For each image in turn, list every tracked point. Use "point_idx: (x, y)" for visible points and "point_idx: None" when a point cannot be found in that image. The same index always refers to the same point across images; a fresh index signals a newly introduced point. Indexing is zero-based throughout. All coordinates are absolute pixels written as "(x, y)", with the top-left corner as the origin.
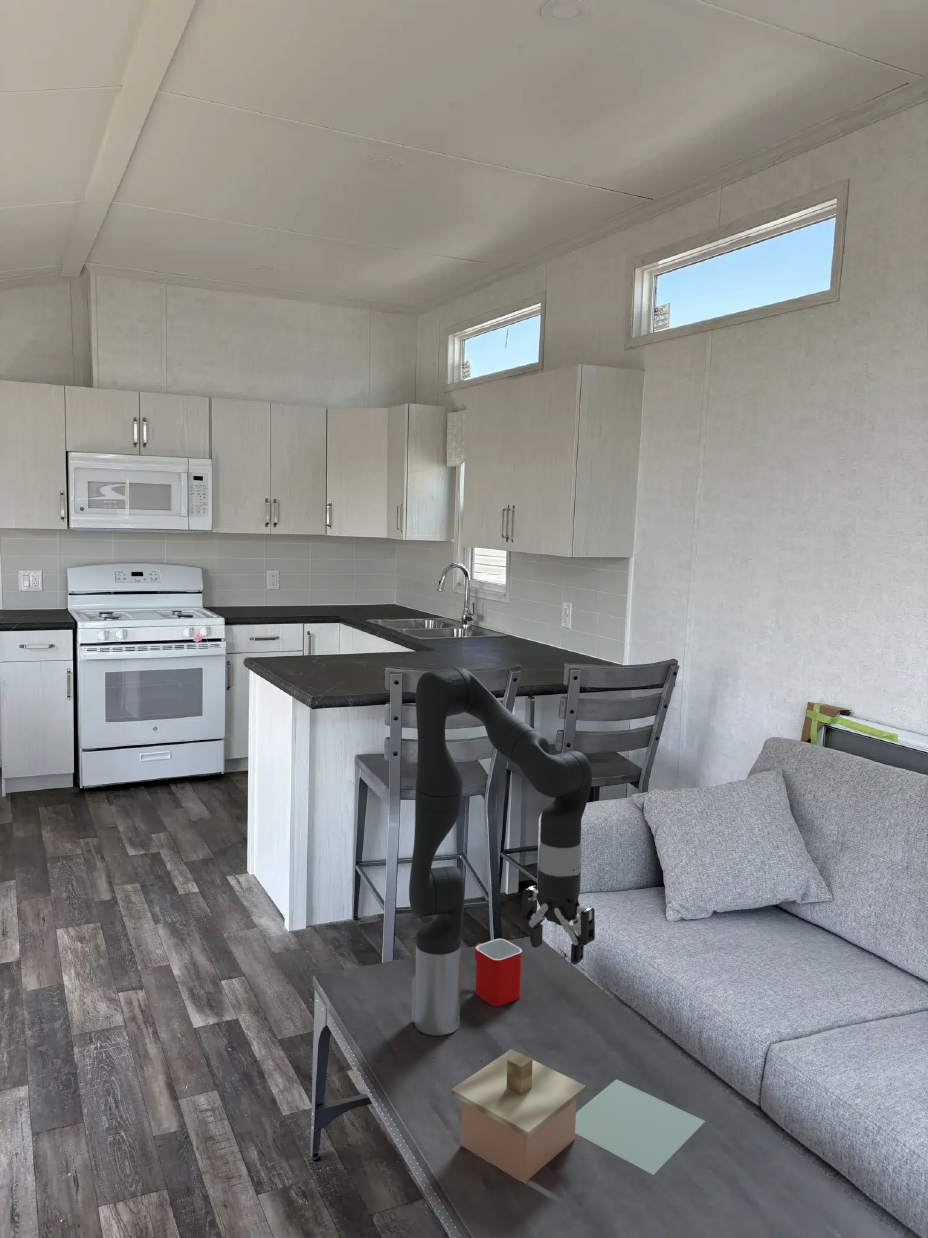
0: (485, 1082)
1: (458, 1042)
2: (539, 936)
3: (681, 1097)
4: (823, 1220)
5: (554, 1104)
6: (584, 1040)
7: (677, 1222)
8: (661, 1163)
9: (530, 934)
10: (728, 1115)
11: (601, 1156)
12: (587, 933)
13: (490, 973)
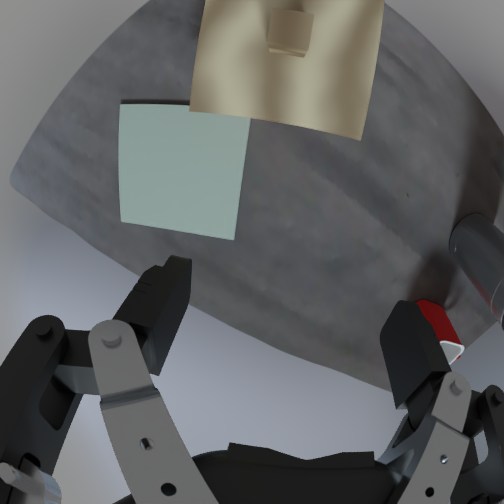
0: (349, 27)
1: (442, 217)
2: (398, 354)
3: (162, 249)
4: (22, 163)
5: (209, 35)
6: (304, 293)
7: (85, 70)
8: (121, 127)
9: (439, 344)
10: (116, 246)
11: (183, 97)
12: (3, 373)
13: (439, 326)
